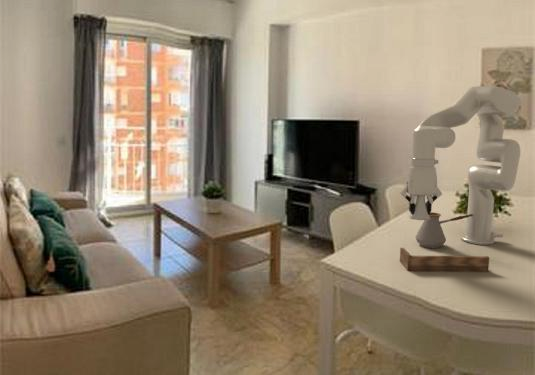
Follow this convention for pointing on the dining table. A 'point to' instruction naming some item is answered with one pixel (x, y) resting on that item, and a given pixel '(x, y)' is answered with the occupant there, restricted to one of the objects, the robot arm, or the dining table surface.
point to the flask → (420, 209)
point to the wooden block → (444, 262)
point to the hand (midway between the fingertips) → (419, 213)
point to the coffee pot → (434, 231)
